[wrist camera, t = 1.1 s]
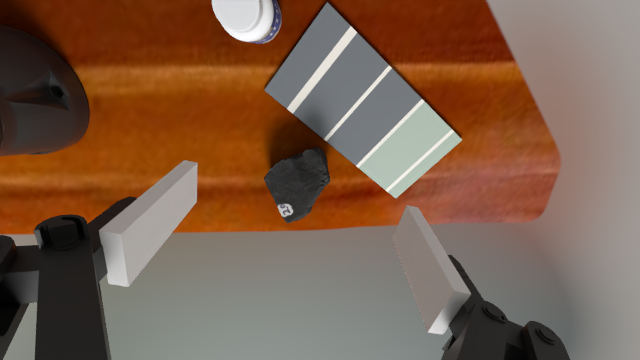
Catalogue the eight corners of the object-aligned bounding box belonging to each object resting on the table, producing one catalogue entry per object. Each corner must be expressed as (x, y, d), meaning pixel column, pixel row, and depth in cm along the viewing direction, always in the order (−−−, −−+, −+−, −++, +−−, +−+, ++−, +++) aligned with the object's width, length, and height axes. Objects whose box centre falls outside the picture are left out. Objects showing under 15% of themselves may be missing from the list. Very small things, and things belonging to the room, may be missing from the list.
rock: (343, 196, 40) (346, 217, 35) (291, 215, 41) (286, 237, 36) (317, 136, 36) (316, 150, 31) (261, 159, 37) (251, 175, 32)
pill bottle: (271, 52, 31) (253, 52, 23) (229, 29, 30) (195, 21, 22) (289, 4, 29) (277, -13, 21) (244, -22, 28) (213, -51, 20)
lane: (264, 89, 33) (264, 90, 33) (327, 2, 29) (327, 1, 28) (395, 197, 40) (395, 198, 39) (460, 139, 35) (462, 139, 35)
